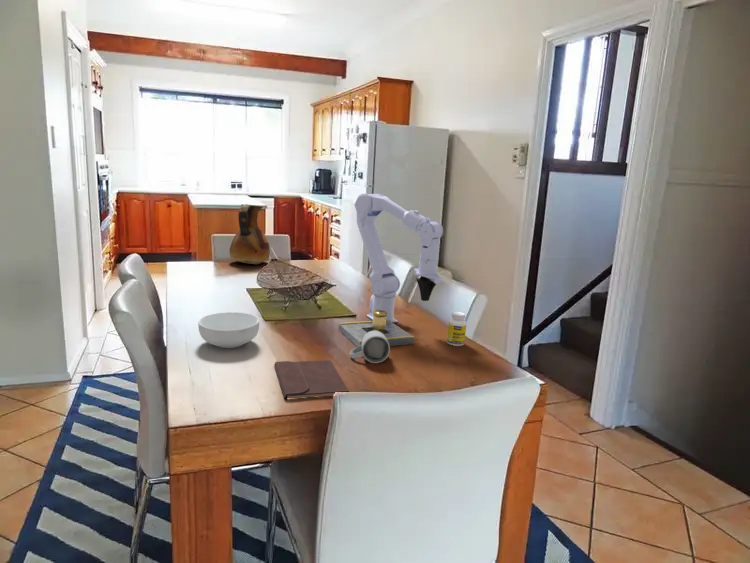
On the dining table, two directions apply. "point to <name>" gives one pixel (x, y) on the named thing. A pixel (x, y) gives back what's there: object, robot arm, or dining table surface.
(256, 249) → the ceramic pitcher
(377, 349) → the ceramic mug
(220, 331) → the cereal bowl
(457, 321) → the supplement bottle
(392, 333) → the jig
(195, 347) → the dining table surface
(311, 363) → the notebook
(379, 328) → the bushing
